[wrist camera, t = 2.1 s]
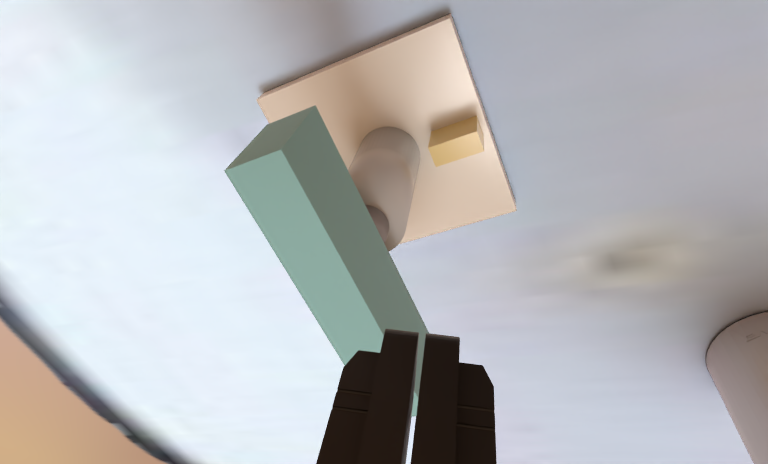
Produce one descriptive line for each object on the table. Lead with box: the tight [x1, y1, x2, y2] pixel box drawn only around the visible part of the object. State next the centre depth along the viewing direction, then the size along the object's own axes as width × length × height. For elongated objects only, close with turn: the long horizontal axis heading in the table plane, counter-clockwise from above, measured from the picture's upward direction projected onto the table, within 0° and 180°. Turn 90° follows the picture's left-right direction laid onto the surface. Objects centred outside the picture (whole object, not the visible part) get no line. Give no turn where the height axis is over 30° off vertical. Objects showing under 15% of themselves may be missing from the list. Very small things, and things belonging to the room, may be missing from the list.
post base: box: [257, 14, 517, 251], centre depth 34 cm, size 14×14×10 cm
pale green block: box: [225, 105, 429, 417], centre depth 26 cm, size 15×3×7 cm, turn 24°
